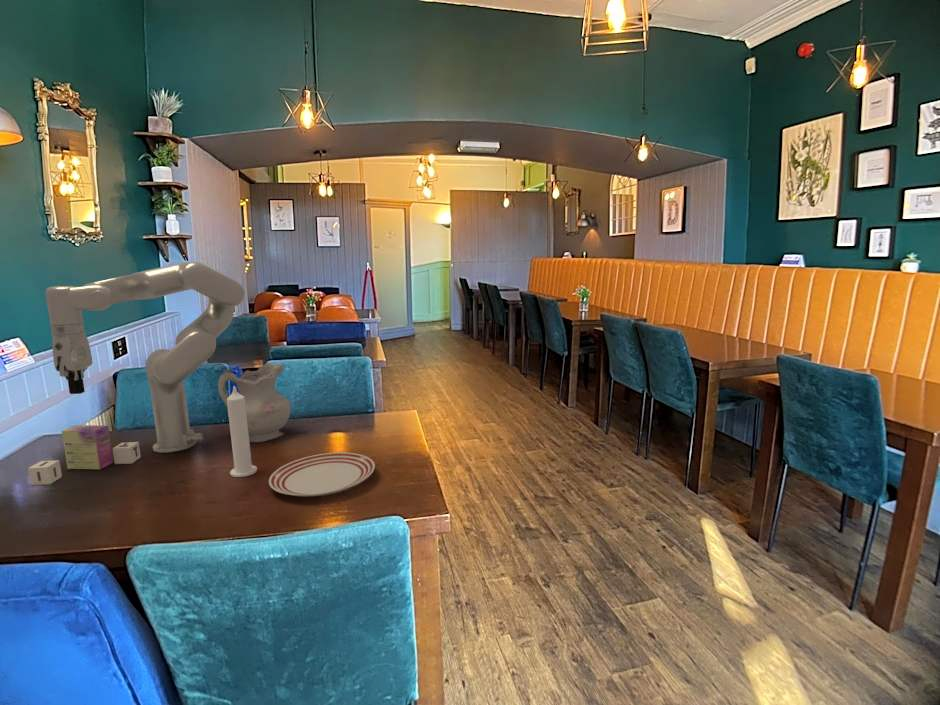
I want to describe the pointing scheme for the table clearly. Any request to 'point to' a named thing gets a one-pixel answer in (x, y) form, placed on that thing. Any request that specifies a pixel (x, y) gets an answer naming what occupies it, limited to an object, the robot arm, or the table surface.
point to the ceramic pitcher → (260, 401)
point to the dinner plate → (322, 474)
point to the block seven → (126, 453)
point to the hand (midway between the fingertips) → (77, 393)
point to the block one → (45, 472)
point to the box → (87, 447)
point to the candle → (239, 436)
